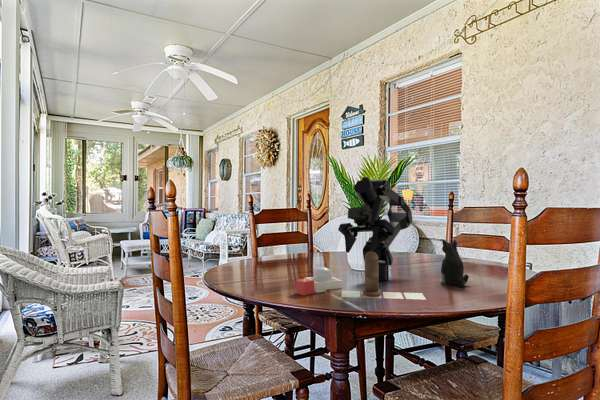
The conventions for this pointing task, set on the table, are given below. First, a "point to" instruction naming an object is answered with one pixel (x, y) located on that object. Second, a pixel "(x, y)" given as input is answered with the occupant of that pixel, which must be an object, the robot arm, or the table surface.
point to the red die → (304, 286)
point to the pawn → (371, 275)
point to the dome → (323, 275)
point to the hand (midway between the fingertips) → (358, 251)
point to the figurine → (452, 266)
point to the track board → (386, 295)
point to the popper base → (326, 285)
